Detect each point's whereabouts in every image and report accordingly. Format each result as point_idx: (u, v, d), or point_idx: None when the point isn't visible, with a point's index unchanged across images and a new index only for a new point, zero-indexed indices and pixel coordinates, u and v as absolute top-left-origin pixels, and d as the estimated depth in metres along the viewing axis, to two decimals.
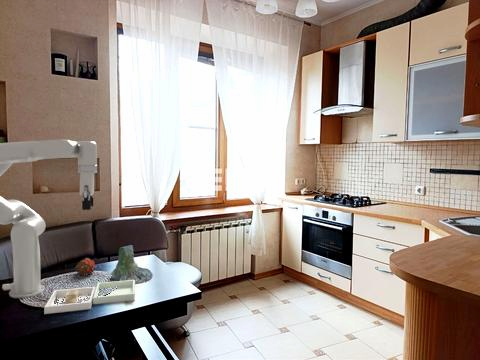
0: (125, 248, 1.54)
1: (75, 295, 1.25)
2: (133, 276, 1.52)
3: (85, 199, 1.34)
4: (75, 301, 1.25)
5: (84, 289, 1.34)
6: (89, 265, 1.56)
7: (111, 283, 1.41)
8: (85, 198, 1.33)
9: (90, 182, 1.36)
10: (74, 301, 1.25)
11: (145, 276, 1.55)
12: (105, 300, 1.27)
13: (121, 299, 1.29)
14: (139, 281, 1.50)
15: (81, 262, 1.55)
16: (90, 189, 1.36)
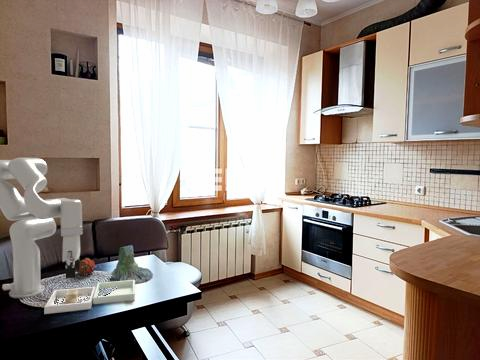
0: (125, 248, 1.55)
1: (75, 295, 1.25)
2: (133, 276, 1.52)
3: (69, 267, 1.19)
4: (75, 301, 1.25)
5: (84, 289, 1.34)
6: (89, 265, 1.56)
7: (111, 283, 1.41)
8: (68, 266, 1.19)
9: (74, 246, 1.21)
10: (74, 301, 1.25)
11: (145, 276, 1.55)
12: (105, 300, 1.27)
13: (121, 299, 1.29)
14: (139, 281, 1.50)
15: (81, 262, 1.55)
16: (74, 255, 1.21)
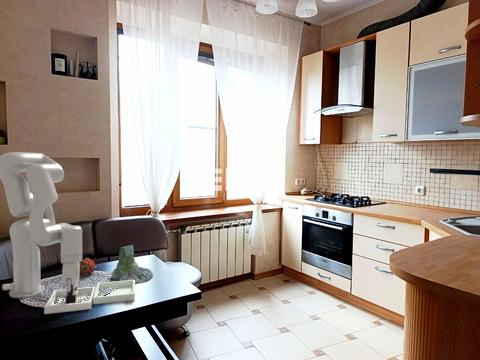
0: (125, 248, 1.55)
1: (75, 295, 1.25)
2: (133, 276, 1.52)
3: (69, 294, 1.23)
4: (75, 301, 1.25)
5: (84, 289, 1.34)
6: (89, 265, 1.56)
7: (111, 283, 1.41)
8: (69, 294, 1.22)
9: (73, 273, 1.22)
10: None
11: (145, 276, 1.55)
12: (105, 300, 1.27)
13: (121, 299, 1.29)
14: (139, 281, 1.50)
15: (81, 262, 1.55)
16: (74, 282, 1.22)
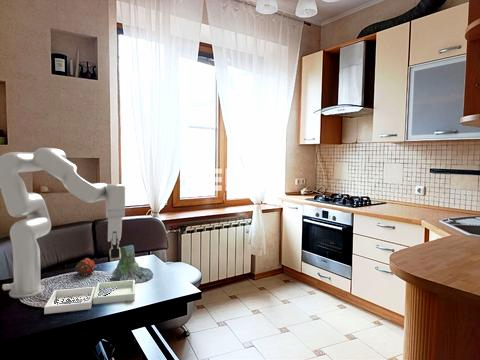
0: (126, 248, 1.55)
1: None
2: (133, 276, 1.53)
3: (114, 247, 1.30)
4: (119, 256, 1.33)
5: (84, 289, 1.34)
6: (89, 265, 1.56)
7: (111, 283, 1.41)
8: (114, 246, 1.30)
9: (118, 227, 1.30)
10: None
11: (145, 276, 1.56)
12: (105, 300, 1.27)
13: (121, 299, 1.29)
14: (139, 281, 1.50)
15: (81, 262, 1.55)
16: (118, 235, 1.30)
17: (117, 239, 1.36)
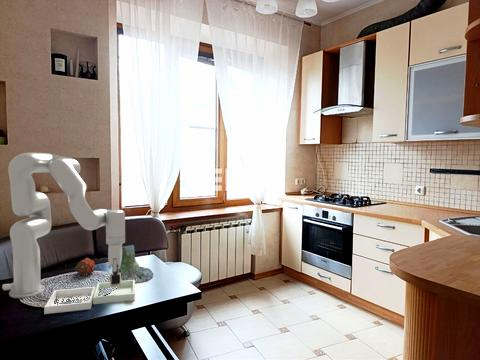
0: (126, 248, 1.55)
1: None
2: (133, 276, 1.53)
3: (115, 274, 1.31)
4: None
5: (84, 289, 1.34)
6: (89, 265, 1.56)
7: None
8: (115, 273, 1.31)
9: (118, 254, 1.30)
10: None
11: (146, 276, 1.56)
12: (105, 300, 1.27)
13: (121, 299, 1.29)
14: (139, 281, 1.50)
15: (81, 262, 1.55)
16: (119, 262, 1.30)
17: None
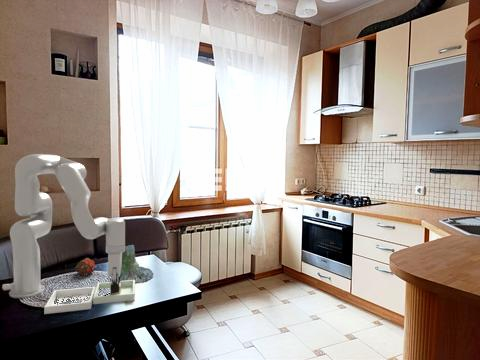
0: (126, 247, 1.55)
1: (119, 287, 1.34)
2: (134, 275, 1.53)
3: (114, 283, 1.30)
4: (119, 293, 1.34)
5: (84, 289, 1.34)
6: (89, 265, 1.56)
7: None
8: (114, 282, 1.30)
9: (118, 263, 1.31)
10: (118, 293, 1.34)
11: (146, 276, 1.56)
12: (105, 300, 1.27)
13: (121, 299, 1.29)
14: (139, 281, 1.50)
15: (81, 262, 1.55)
16: (118, 271, 1.31)
17: None
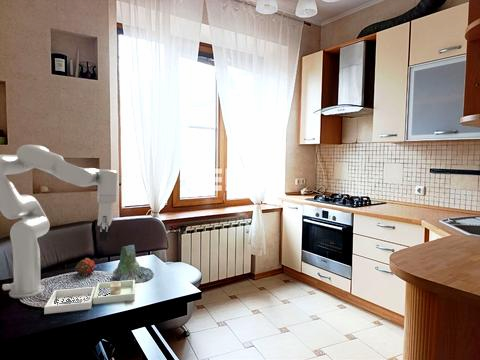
0: (126, 247, 1.56)
1: (119, 287, 1.34)
2: (134, 275, 1.53)
3: (103, 230, 1.30)
4: (119, 293, 1.34)
5: (84, 289, 1.34)
6: (89, 265, 1.56)
7: (111, 283, 1.41)
8: (103, 229, 1.30)
9: (108, 212, 1.32)
10: (118, 293, 1.34)
11: (146, 276, 1.56)
12: (105, 300, 1.27)
13: (121, 299, 1.29)
14: (139, 281, 1.50)
15: (81, 262, 1.55)
16: (108, 220, 1.32)
17: None
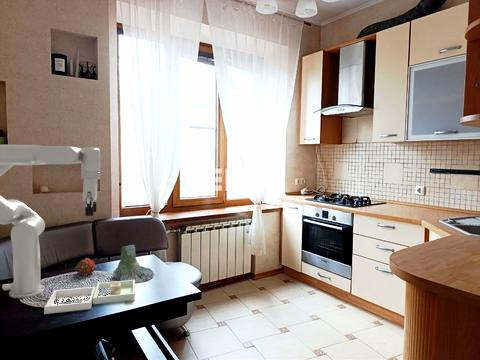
0: (127, 247, 1.56)
1: (119, 287, 1.34)
2: (134, 275, 1.53)
3: (88, 205, 1.35)
4: (119, 293, 1.34)
5: (84, 289, 1.34)
6: (89, 265, 1.56)
7: (111, 283, 1.41)
8: (88, 204, 1.34)
9: (93, 188, 1.37)
10: (118, 293, 1.34)
11: (146, 276, 1.56)
12: (105, 300, 1.27)
13: (121, 299, 1.29)
14: (139, 280, 1.50)
15: (81, 262, 1.55)
16: (93, 195, 1.37)
17: None
